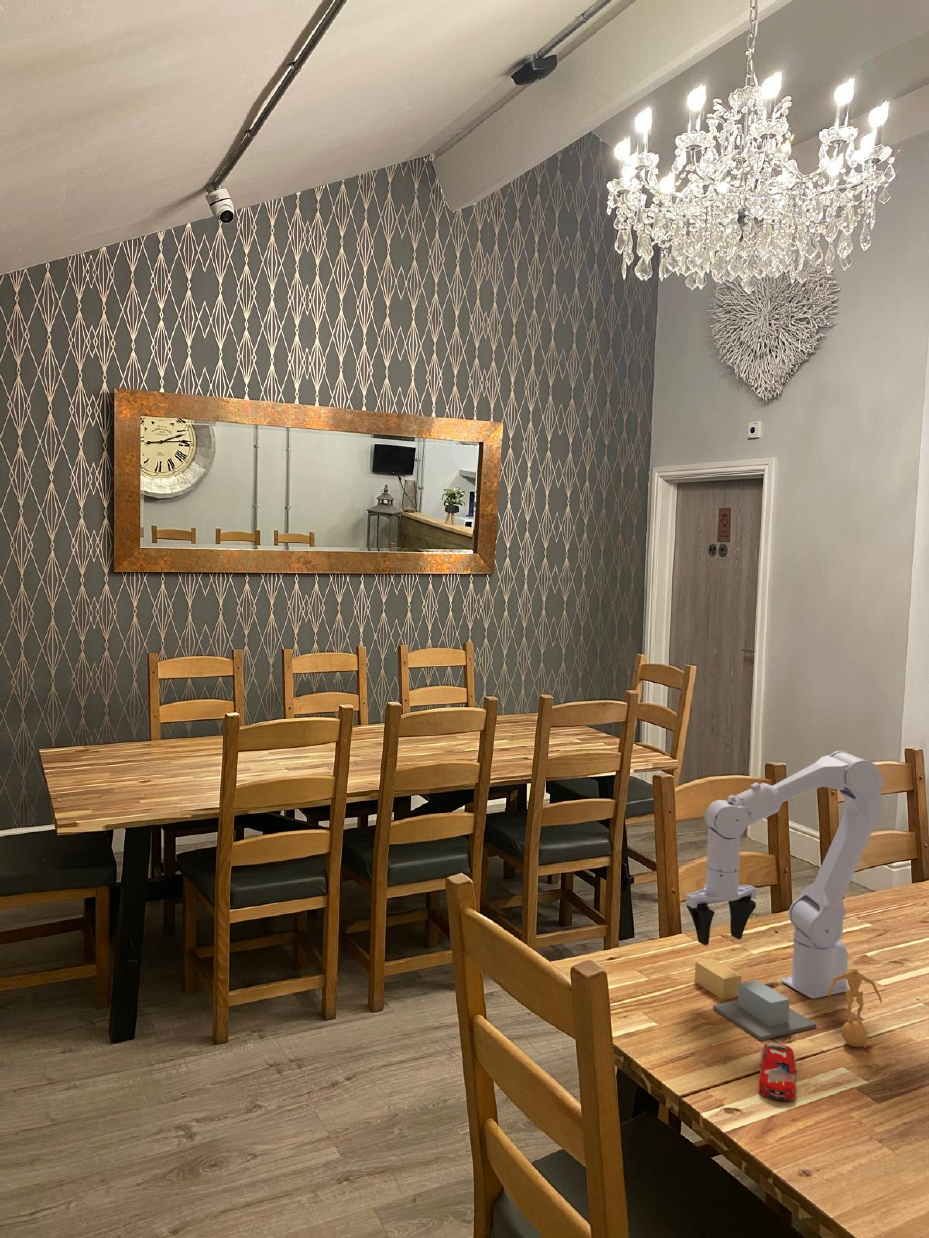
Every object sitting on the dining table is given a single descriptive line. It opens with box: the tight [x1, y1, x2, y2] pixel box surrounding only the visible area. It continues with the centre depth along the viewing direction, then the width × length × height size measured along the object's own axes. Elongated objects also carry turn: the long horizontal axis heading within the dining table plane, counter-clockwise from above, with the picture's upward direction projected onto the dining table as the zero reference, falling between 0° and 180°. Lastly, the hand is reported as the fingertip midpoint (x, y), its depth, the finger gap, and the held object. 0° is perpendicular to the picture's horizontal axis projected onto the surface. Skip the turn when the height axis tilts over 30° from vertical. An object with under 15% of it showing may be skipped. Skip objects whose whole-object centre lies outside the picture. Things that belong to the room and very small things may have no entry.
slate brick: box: [737, 979, 790, 1026], centre depth 163 cm, size 4×8×4 cm, turn 25°
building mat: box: [712, 999, 817, 1041], centre depth 163 cm, size 12×12×1 cm
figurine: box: [828, 968, 882, 1048], centre depth 155 cm, size 8×6×12 cm
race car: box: [758, 1042, 798, 1102], centre depth 143 cm, size 13×5×4 cm, turn 159°
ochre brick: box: [694, 958, 742, 1000], centre depth 174 cm, size 4×8×4 cm, turn 24°
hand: (719, 940), depth 174 cm, fingers open, 7 cm apart
